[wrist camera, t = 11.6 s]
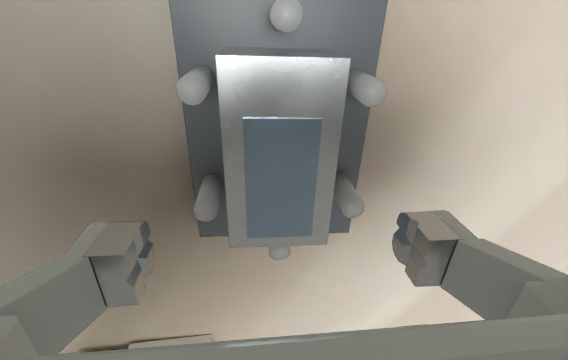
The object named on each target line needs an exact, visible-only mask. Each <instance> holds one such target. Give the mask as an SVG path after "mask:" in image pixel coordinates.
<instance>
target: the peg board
mask: <svg viewBox="0 0 568 360" xmlns="http://www.w3.org/2000/svg"><path fill="white" fill-rule="evenodd" d="M387 2H388V0H169V5H170V13H171V20H172V28H173V35H174V43H175V51H176V58H177V66H178V73H179V80H178V82H177V85H176V92H177V95H178V97H179V98H180V99H181V100H182V104H183V111H184V119H185V126H186V134H187V142H188V149H189V157H190V164H191V172H192V180H193V187H194V195H195V205H194V208H193V214H194V216H195V217H196V218H197V219H198V225H199V233H200V237H210V236H229V231H228V217H227V204H226V190H225V177H224V163H223V150H222V136H221V123H220V110H219V96H218V83H217V69H216V56H215V55H216V54H217V53H218V52H220V51H221V50H222V49H223V48H224V47H257V48H295V49H328V50H331V51H333V52H336V53H339V54H341V55H344V56H346V57H349V58H351V60H350V68H349V76H348V84H347V92H346V99H345V107H344V115H343V123H342V131H341V139H340V146H339V154H338V162H337V170H336V178H335V186H334V194H333V201H332V209H331V217H330V225H329V233H346V232H349V227H350V221H351V218H355V217H357V216H359V215H360V214H361V213H362V212H363V211H364V203H363V202H362V200H361V198H360V197H359V195H358V193H357V192H356V186H357V180H358V174H359V168H360V162H361V156H362V150H363V144H364V138H365V132H366V127H367V121H368V115H369V109H370V107H374V106H377V105H379V104H380V103H381V102H382V101H383V100H384V98H385V96H386V92H387V89H386V85H385V84H384V82H383V81H381V80H380V79H377V78H375V73H376V67H377V62H378V56H379V50H380V44H381V38H382V32H383V26H384V20H385V14H386V8H387ZM289 254H290V247H289V246H269V255H270V257H271V258H272V259H275V260H283V259H285V258H287V257H288V256H289Z"/></svg>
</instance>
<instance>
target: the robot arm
mask: <svg viewBox="0 0 568 360" xmlns="http://www.w3.org/2000/svg"><path fill="white" fill-rule="evenodd" d="M397 225H398V226H399V229H398V230H397V231H396V232H395V233H394V235H393V240H392V246H393V252H394V254H395V257H396V258H397V260H398V261H399V262H400V263H402V264H404V265H405V266H406V268H405V272H406V274H407V275H408V277H409V278H410V280H411V281H412V283H413V284H414V286H415V287H420V286H441V288H442V289H444V290H445V291H447V292H448V293H449V294H451V295H452V296H453V297H455V298H456V299H458V300H459V301H460V302H462V303H463V304H464V305H466V306H467V307H468V308H470V309H471V310H473V311H474V312H475V313H477V314H478V315H479V316H481V317H482V318H484V319H485V320H481V321H468V322H456V323H443V324H431V325H418V326H406V327H394V328H381V329H369V330H356V331H343V332H331V333H318V334H306V335H293V336H281V337H268V338H256V339H244V340H231V341H219V342H207V343H195V344H183V345H170V346H158V347H146V348H133V349H120V350H108V351H95V352H82V353H69V354H58V353H59V352H60V351H61V350H63V349H64V348H65V347H66V346H67V345H68V344H69V343H70V342H71V341H72V340H73V339H74V338H76V337H77V336H78V335H79V334H80V333H81V332H82V331H83V330H84V329H85V328H86V327H88V326H89V325H90V324H91V323H92V322H93V321H94V320H95V319H96V318H97V317H98V316H99V315H101V314H102V313H103V312H104V311H105V310H106V307H117V306H128V305H138V304H139V302H140V299H141V297H142V294H143V292H144V289H145V287H146V285H145V281H144V279H145V278H147V277H148V276H149V275H150V274H151V271H152V269H153V264H154V248H153V244H152V243H151V242H150V241H148V240H147V238H148V236H149V234H150V230H149V226H148V223H147V222H145V221H123V222H93V223H90V224H89V225H88V226H87V227H86V229H85V230H84V231H83V232H82V233H81V235H80V236H79V237H78V238H77V240H76V241H75V242H74V243H73V244H72V246H71V247H70V248H69V249H68V250H67V252H66V253H65V254H64V255H63V257H62V258H59V259H53V260H52V261H50V262H48V263H46V264H44V265H42V266H40V267H38V268H36V269H35V270H33V271H31V272H29V273H27V274H25V275H23V276H21V277H20V278H18V279H16V280H14V281H12V282H10V283H8V284H6V285H4V286H3V287H1V288H0V360H568V275H567V274H565V273H562V272H560V271H558V270H555V269H553V268H551V267H548V266H546V265H543V264H541V263H539V262H536V261H534V260H532V259H529V258H527V257H525V256H522V255H520V254H518V253H515V252H513V251H511V250H508V249H506V248H504V247H501V246H499V245H497V244H494V243H492V242H490V241H487V240H485V239H478V238H477V237H476V236H475V235H474V234H473V233H471V232H470V231H469V230H468V229H467V228H466V227H465V226H464V225H463V224H461V223H460V222H459V221H458V220H457V219H456V218H455V217H454V216H453V215H452V214H450V213H449V212H448V211H445V210H436V211H425V212H405V213H400V215H399V216H398V219H397Z"/></svg>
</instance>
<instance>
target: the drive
mask: <svg viewBox="0 0 568 360" xmlns="http://www.w3.org/2000/svg"><path fill="white" fill-rule="evenodd" d="M215 56H216V69H217V83H218V96H219V110H220V123H221V136H222V150H223V163H224V177H225V190H226V204H227V217H228V231H229V244H230V248H235V247H265V246H294V245H324V244H327V241H328V233H329V225H330V217H331V209H332V201H333V194H334V186H335V178H336V170H337V162H338V154H339V146H340V139H341V131H342V123H343V115H344V107H345V99H346V92H347V84H348V76H349V68H350V60H351V58H349V57H346V56H344V55H341V54H339V53H336V52H333V51H331V50H328V49H295V48H257V47H224V48H223V49H222V50H221V51H220V52H218V53H217V54H216V55H215Z"/></svg>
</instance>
